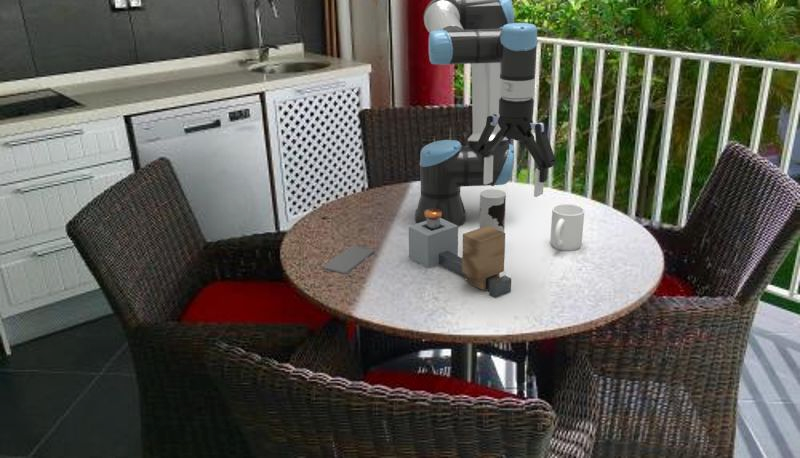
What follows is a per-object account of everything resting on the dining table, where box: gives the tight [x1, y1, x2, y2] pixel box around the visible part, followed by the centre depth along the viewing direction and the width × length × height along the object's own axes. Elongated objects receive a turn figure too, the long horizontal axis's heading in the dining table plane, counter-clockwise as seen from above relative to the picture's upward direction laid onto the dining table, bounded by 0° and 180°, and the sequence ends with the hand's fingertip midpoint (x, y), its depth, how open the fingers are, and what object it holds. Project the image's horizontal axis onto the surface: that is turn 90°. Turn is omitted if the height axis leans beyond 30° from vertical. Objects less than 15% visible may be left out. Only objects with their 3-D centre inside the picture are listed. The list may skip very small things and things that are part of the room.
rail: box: [438, 251, 512, 299], centre depth 167 cm, size 22×5×4 cm, turn 36°
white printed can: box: [478, 188, 507, 233], centre depth 182 cm, size 7×7×15 cm
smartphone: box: [321, 244, 375, 275], centre depth 179 cm, size 8×1×15 cm
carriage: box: [461, 226, 506, 291], centre depth 162 cm, size 6×8×13 cm
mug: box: [550, 203, 585, 251], centre depth 181 cm, size 12×8×10 cm
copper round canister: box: [425, 209, 442, 231], centre depth 175 cm, size 4×4×7 cm
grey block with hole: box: [407, 218, 459, 269], centre depth 177 cm, size 8×10×9 cm
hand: (512, 189), depth 157 cm, fingers open, 13 cm apart
